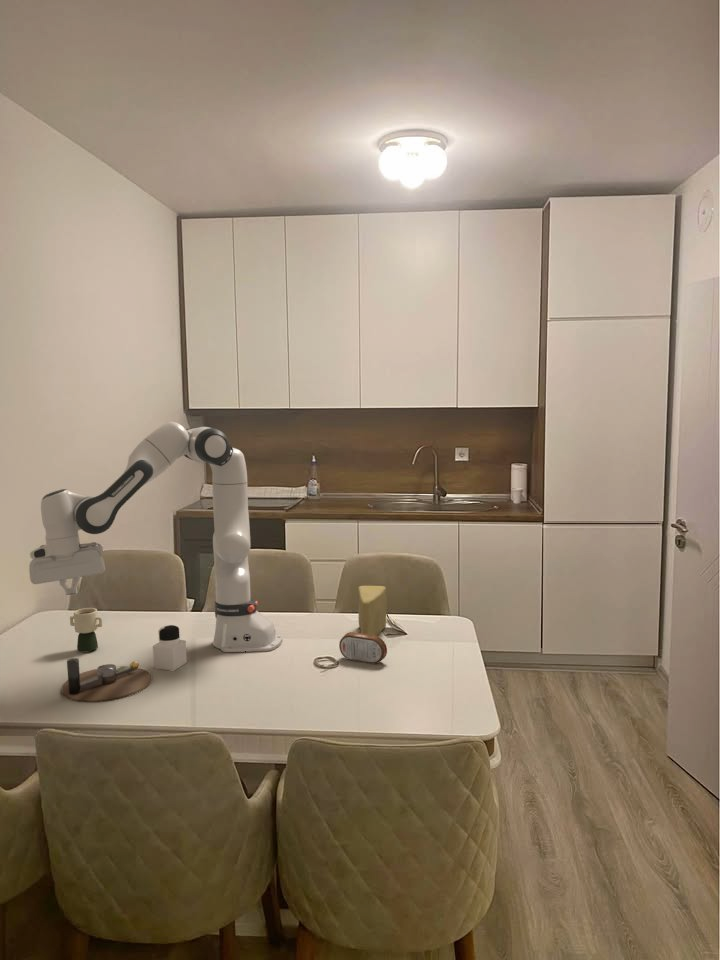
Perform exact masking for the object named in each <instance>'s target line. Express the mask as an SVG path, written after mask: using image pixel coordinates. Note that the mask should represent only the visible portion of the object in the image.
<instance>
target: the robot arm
mask: <svg viewBox="0 0 720 960" xmlns="http://www.w3.org/2000/svg"><path fill="white" fill-rule="evenodd" d="M183 456H184V457H185V458H187V459H189V460H192V461H195V462H196V463H197V462H198V463H201V464H205V463H207V464H208V465H209V466H210V469H211V473H212V479H211V480H212V483H211V484H212V509H213V510H212V511H213V525H214V526H213V527H214V528H213V529H214V532H213V535H212V549H213V564H214V567H213V568H214V577H215V602H214V615H215V620H216V621H215V628H214V629H215V631H214V635H213V641H212V646H213V647H215V648H217V649H220V650H221V651H222V652H223V653H243V652H244V653H245V651H246V652H247V653H249V652H270V651H273V650H275V649H277V648H279V646H281V644H282V643H283V636H282V635H281V634H279V633H278V634H277V633H276V628H275V625H274V622H273V621H272V620H271V619H269V618H268V617H267V616H265V615H263V613H261V612H259V611H258V610H257V608H258V607H257V606H258V600H256V601H254V599H252V598H251V579H250V578H251V577H250V576H251V575H250V567H249V554H250V551H251V545H252V544H251V531H250V530H251V528H250V514H249V499H248V498H249V496H248V495H249V494H248V493H249V489H248V486H249V485H248V470H247V464H246V459H245V455H244V453H243V452H242V451H241V450H240V449H238V448H235V447H233V446H232V444H231V443H230V441H229V438H228V437H227V435H226V434H225V433H224V432H223V431H221V430H219V429H217V428H214V427H208V426H200V427H199V426H196V427H189V428H185V427H184V426H183V425H182V424H180V423H178V422H175V421H169V422H166V423H164V424H162V425H161V426H159V427H158V428H156V429H155V430H153V431H152V432H151V433H150V434H149V435H147V436H146V437H145V438H144V439H143V440H142V441H140V442H139V443H138V445H137V446H136V447H134V449H133V450H132V452H131V453H130V455H129V456H128V459H127V466H126V468H125V469H124V471H123V473H122V474H121V475H119V476H118V478H117V479H116V480H114V482H112V483H111V484H110V486H109V487H107V488H106V490H105V491H103V492H102V493H100V494H99V495H95V496H89V495H84V494H79V493H75V492H73V491H71V490H68V489H67V488H63V489H58V490H55V491H52V492H49V493H46V494H45V495H44V496H43V497H42V499H41V501H40V513H41V521H42V525H43V528H44V529H45V536H44V537H45V539H44V540H45V544H42V545H40V546H39V547H37V548H35V549H34V550H31V551H30V553H29V556H30V558H31V559H32V560H31V561H30V563H29V566H28V567H29V568H28V569H29V581H30V582H31V584H33V585H39V584H46V583H52V582H59V585H60V586H61V587H62V589H64V592H65V596H69V595H75V594H76V595H77V594H78V587H79V586H78V585H79V583H80V578H83V577H90V576H97V575H101V574H104V572H105V570H106V565H105V564H106V563H105V560H104V558H103V555H104V549H103V546H102V545H101V544H100V543H97V542H94V541H93V542H90V543H88V542H87V543H80V536H79V532H80V531H84V532H85V533H87V534H90V535H99V534H102V533H103V534H104V532H106V531H108V530H109V529H110V528H111V526H112V525H113V523H114V521H115V518H116V516H117V514H118V512H119V511H120V509H121V508H122V507H123V505H125V504H126V503H127V502H128V501H129V500H130V499H131V498H132V497H133V496H134V495H135V494H136V493H137V492H138V491H139V490H140V489H141V488H142V487H144V486H145V485H147V484H148V483H150V482H151V481H153V480H154V479H156V478H157V477H159V476H160V475H161V474H162V473H164V472H165V471H166V470H167V469H169V468H170V467H171V466H172V465H173V464H174V463H175V462H176V460H178V459H180V458H181V457H183ZM67 580H72V583H73V586H71V587H69V586H68V585H67V584H66V583H67Z"/></svg>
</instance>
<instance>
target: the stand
mask: <svg viewBox="0 0 720 960" xmlns="http://www.w3.org/2000/svg"><path fill="white" fill-rule="evenodd" d="M129 667H130V665H129V666H126V665H125V666H124V665H122V666H121V665H120V666H118V665H116V672H118V671H120V670H123V669H126V668H129ZM97 676H98V674H97V668H95V669H91V670H88V671H83V672H82V673H80V682H82V681H85V680H88V679H91V678H94V677H97ZM152 680H153V679H152V674H151V673H150V671H148V669H147V670H146V669H144V668H140V667H138V668H137V670H134V671H132V672H129V673H126V674H123V675H120V676H117V680H116V681H115V682H113V683H110V684H102V685H99V686H96V687H93V688H90V689H87V690H85V691H82V692H80V693H78V694H69V687H68V679H67V680H66V681H65V682H64V683H63V684H62V686H61V693H63V694H62V695H63V697H65V696H66V697H67V699H68V698H69V700H71V699H72V700H71V701H75V700H76V702H80V701H84V703H101V701H102V702H109V701H114V700H115V699H116V700H120V699H124V698H127V697H126V696H128V697H130V696H129V695H131V696H133V695H136V694H138V693H140V692H141V690H142V691H143V689H144V690H145V689H147V688H148V687H149V686H150V685H151V683H152ZM139 691H140V692H139ZM137 692H138V693H137ZM135 693H136V694H135ZM132 694H133V695H132ZM66 697H65V698H66ZM123 697H124V698H123Z"/></svg>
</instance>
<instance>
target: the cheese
mask: <svg viewBox="0 0 720 960" xmlns="http://www.w3.org/2000/svg"><path fill="white" fill-rule="evenodd" d="M357 593H358V595H357V596H358V599H357V600H358V627H359V629H360V633H362V634H368V635H375V636H379V634H380V633H381V632H382V631H383V630H384V629H385V628H386V627H387V608H388V607H387V604H388V603H387V588H386V586H384V585H360V586H358V589H357Z"/></svg>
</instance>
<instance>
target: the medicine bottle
mask: <svg viewBox="0 0 720 960" xmlns="http://www.w3.org/2000/svg"><path fill="white" fill-rule="evenodd" d="M152 654H153V655H152V658H153V669H156V670H162V671H165V670H166V671H170V672H171V671H172V672H173V671H176V670H177V669H179V668H181V667H182V666H184V665H185V664H186V663H187V642H186V640H185V639H180V627H179V626H178V625H177V626H176V625H173V624H171V625H170V624H169V625H164V626H161V627H160V628H159V629H158V642H157V643H155V644H153V645H152Z"/></svg>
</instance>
